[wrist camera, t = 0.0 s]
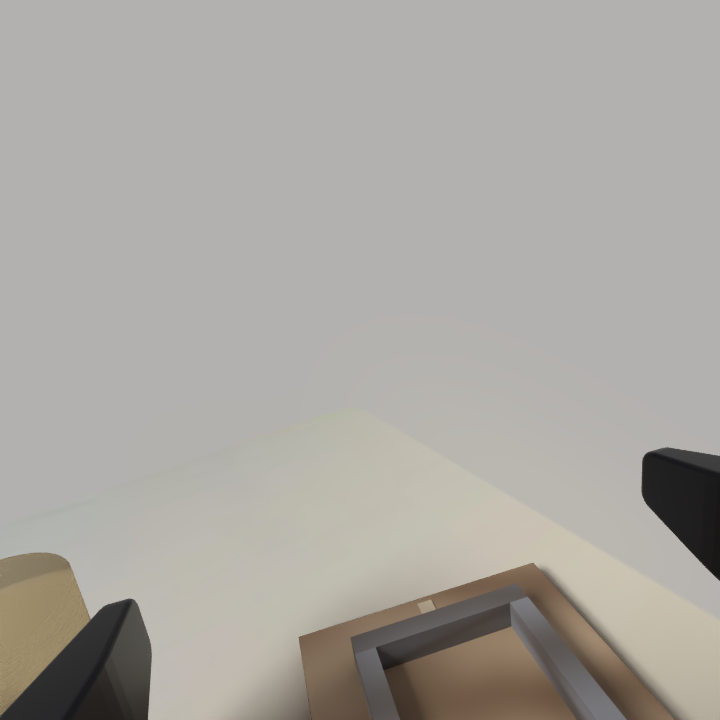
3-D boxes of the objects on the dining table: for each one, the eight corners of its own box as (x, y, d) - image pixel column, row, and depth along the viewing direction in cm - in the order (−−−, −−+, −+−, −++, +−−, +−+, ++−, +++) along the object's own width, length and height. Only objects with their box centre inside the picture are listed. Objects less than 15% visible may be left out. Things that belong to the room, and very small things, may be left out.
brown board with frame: (784, 866, 16) (794, 813, 15) (370, 1079, 13) (356, 1027, 12) (533, 576, 29) (532, 541, 28) (301, 651, 26) (293, 614, 25)
